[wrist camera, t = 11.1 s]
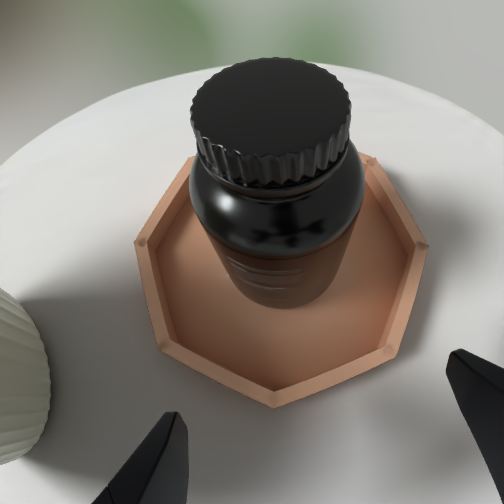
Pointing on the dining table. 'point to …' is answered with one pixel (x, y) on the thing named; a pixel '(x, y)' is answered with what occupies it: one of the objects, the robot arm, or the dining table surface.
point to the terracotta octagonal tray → (281, 320)
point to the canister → (21, 381)
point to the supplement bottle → (276, 177)
